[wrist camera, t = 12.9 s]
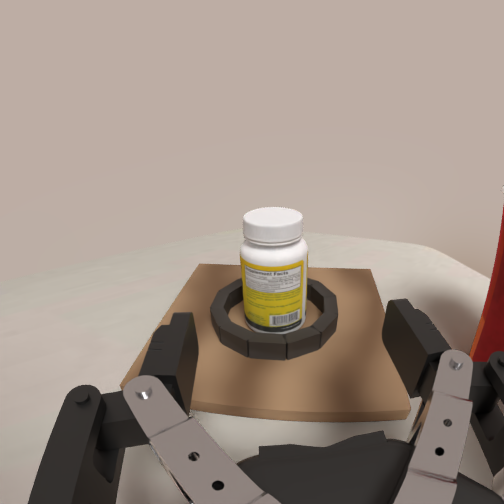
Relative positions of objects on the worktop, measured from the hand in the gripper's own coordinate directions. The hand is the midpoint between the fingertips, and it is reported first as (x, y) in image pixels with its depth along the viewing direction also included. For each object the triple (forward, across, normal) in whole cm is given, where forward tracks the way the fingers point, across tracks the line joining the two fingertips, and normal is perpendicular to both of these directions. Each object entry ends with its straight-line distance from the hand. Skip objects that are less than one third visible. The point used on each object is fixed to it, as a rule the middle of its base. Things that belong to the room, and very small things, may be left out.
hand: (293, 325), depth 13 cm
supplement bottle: (+10, 0, +7) cm, 12 cm away
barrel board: (+10, 0, +8) cm, 13 cm away
